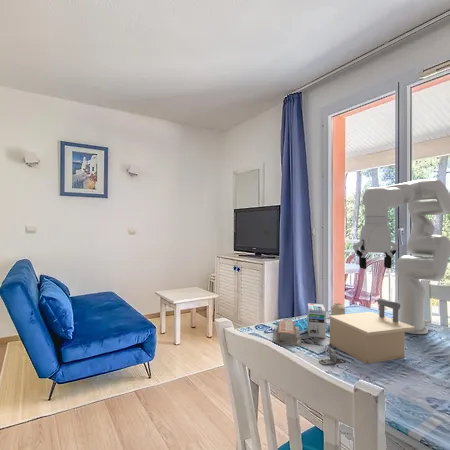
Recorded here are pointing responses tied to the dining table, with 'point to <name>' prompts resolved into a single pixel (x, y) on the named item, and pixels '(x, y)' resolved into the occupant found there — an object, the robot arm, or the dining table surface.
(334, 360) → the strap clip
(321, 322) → the light bulb box
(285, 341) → the packaged product
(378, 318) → the carton lid
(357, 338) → the kraft carton
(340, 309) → the candle
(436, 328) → the dining table surface
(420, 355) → the dining table surface
